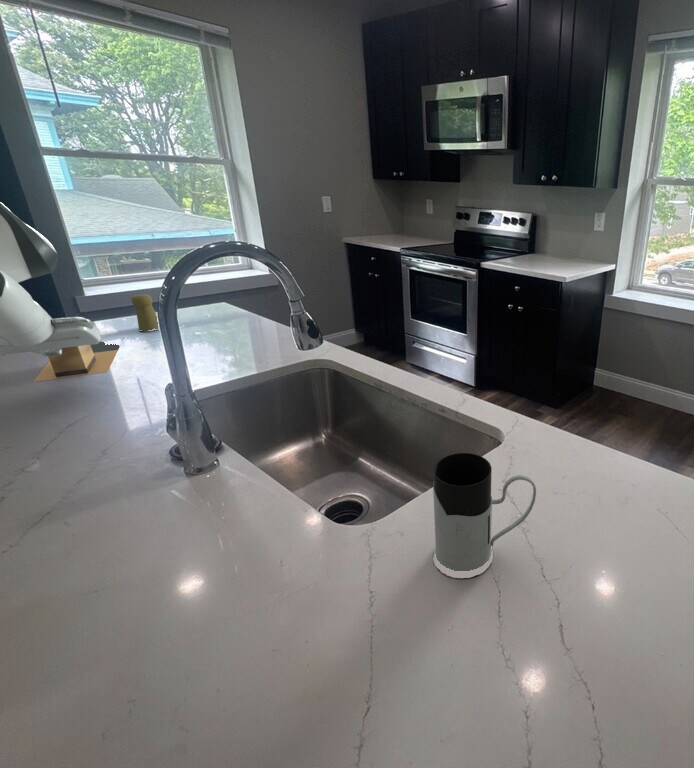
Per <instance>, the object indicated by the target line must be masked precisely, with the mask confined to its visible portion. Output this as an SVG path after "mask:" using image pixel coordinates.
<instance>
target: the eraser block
mask: <svg viewBox="0 0 694 768" xmlns="http://www.w3.org/2000/svg"><path fill="white" fill-rule="evenodd" d="M61 350H62V354H61V355H52V356H47V358H48V360H49V361H50V363H51V365H52V367H53V370H54V372H55V376H56V377H62V376H69V375H77V374H84V373H88V372H89V371H90V369H91V367H92V365H93V364H94V362H95V360H96V358H95V355H94V354H93V351H92V348H91V345H84V346H75V347H67V348H62V349H61Z"/></svg>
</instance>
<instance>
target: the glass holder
mask: <svg viewBox="0 0 694 768" xmlns="http://www.w3.org/2000/svg"><path fill="white" fill-rule="evenodd" d="M492 469H493V468H492V465H491V462H490V461H489V460H487V459H486V458H485V457H483V456H482V455H479V454H476V453H471V452H458V453H452V454H448V455H446V456H444V457H442V458H441V459H439V460H438V461H437V462H436V464H435V465H434V468H433V480H434V481H433V482H432V489H433V490H432V492H433V493H432V494H433V517H434V518H433V519H434V540H435V541H434V542H435V548H436V549H435V548H434V550H435V554H436V558H437V560H438V561H439V562H440V564H442V565H443V566H445V567H446V568H449V569H451V570H454V571H470V570H474V569H477V568H479V567H481V566H483V565H484V564H485V563H486V562H487V561H488V560H489V558H490V556H491V552H492V549H491V546H492V548H493V547H494V543H495V542H496V541H497V540H498V539H500V538H501V537H503V536H504V535H505V534H507V533H509V532H511V531H512V530H513V529H515V528H517V526H519V525H520V524H522V523H523V522H524V521H525V520H526V519H527V518H528V516H529V515H530V513H531V511H532V510H533V507H534V504H535V502H536V498H537V487H536V483H535V482H534V480H533V479H532V478H530V477H529V476H526V475H523V474H521V475H519V474H518V475H515V476H512V477H510V478H508V480H506V481H505V483H504V486H503V489H502V496H501V497H500V498H498V499H493V498H492V474H493V473H492V471H493V470H492ZM521 480H522V481H525V482H528V483H529V484H530V485H531V486H532V489H533V490H532V491H533V493H532V498H531V501H530V503H529V506H528V507H527V508H526V510H525V512H524V513H523V514H522V515H521V516H520V517H519V518H518V519H517V520H515V521H514V522H513V523H512V524H510V525H508V526H507V527H505V528H504V529H502V530H501V531H499V532H497V533H496V534H494V535H493V537H492V524H493V522H492V519H493V505H500V504H502V503H503V502H504V501H505V500H506V496H507V495H506V494H507V490H508V487H509V486H510V485H511V484H512V483H514V482H515V481H521Z"/></svg>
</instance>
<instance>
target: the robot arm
mask: <svg viewBox="0 0 694 768" xmlns="http://www.w3.org/2000/svg"><path fill="white" fill-rule="evenodd" d="M59 257H60V256H59V254H58V252H57V250H56V249H55V247H54V245H53V244H52V243H51V242H50V240H48V239H47V238H46V237H45V236H44V235H42V234H41V233H40V232H39V231H37V230H36V229H35V228H33V227H31V226H30V225H28V224H27V223H25V222H24V221H23V220H22V219H20V218H19V217H18V216H17V215H16V214H15V213H13V212H12V210H10V209H9V208H8V207H7V206H5V204H4V203H2V202H1V201H0V356H5V355H13V354H21V353H34V354H40V355H43V357H48V356H52V355H61V354H62V350H61V349H62V348H67V347H75V346H84V345H93V344H98V343H99V342H100V341H101V339H102V337H101V331H100V328H99V327H98V326H96V324H94V322H93V321H92V320H91V319H89V318H86V317H82V316H69V317H57V318H56V317H55V318H52V316H51V315H50V314H49V313H48V312H47V311H46V310H45V309H44V308H43V307H42V306H41V305H40V304H39V303H38V302H37V301H35V300H34V299H33V297H32V295H31V294H30V293H29V291H27V290H26V289H25V288H24V287H23V286H22V285H20V283H22V282H24V281H26V280H29V279H35V278H39V277H42V276H44V275H48V274H49V275H50V274H52V273H53V272H54V271H55V269H56V267H57V264H58V262H59Z"/></svg>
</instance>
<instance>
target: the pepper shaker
mask: <svg viewBox="0 0 694 768" xmlns="http://www.w3.org/2000/svg"><path fill="white" fill-rule="evenodd" d="M131 304H132V305H133V306H134V307H135V313H136V319H137V325H138V331H139V330H142V331H148V330H152V329H154V328H155V329H158V322H157V317H158V315H157V312H156V311H155V309H154V306H153V304H154V300H153V298H152V296H151V295H150V294H145V293H144V294H143V293H142V294H135V295H133V296H132V297H131ZM156 315H157V316H156Z"/></svg>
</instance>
